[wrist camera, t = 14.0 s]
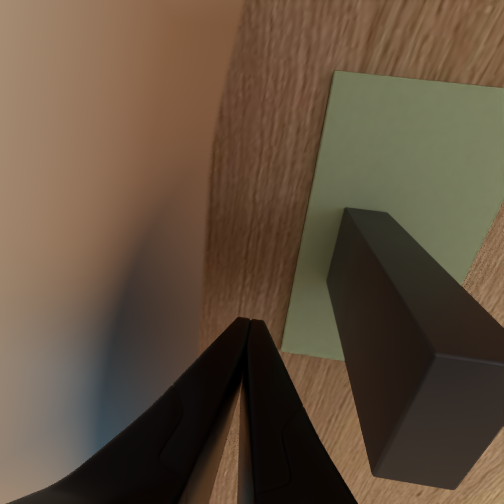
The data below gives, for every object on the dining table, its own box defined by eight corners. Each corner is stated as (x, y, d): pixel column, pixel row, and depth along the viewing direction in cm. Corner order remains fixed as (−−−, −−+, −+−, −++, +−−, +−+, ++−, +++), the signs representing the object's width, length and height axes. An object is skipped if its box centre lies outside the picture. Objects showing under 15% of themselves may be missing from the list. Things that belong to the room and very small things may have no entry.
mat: (416, 367, 19) (418, 372, 19) (280, 347, 20) (280, 351, 19) (549, 94, 12) (557, 93, 12) (333, 71, 13) (335, 70, 12)
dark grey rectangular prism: (325, 282, 17) (371, 478, 8) (344, 206, 15) (434, 354, 6) (369, 287, 17) (467, 494, 8) (394, 212, 15) (565, 373, 6)
